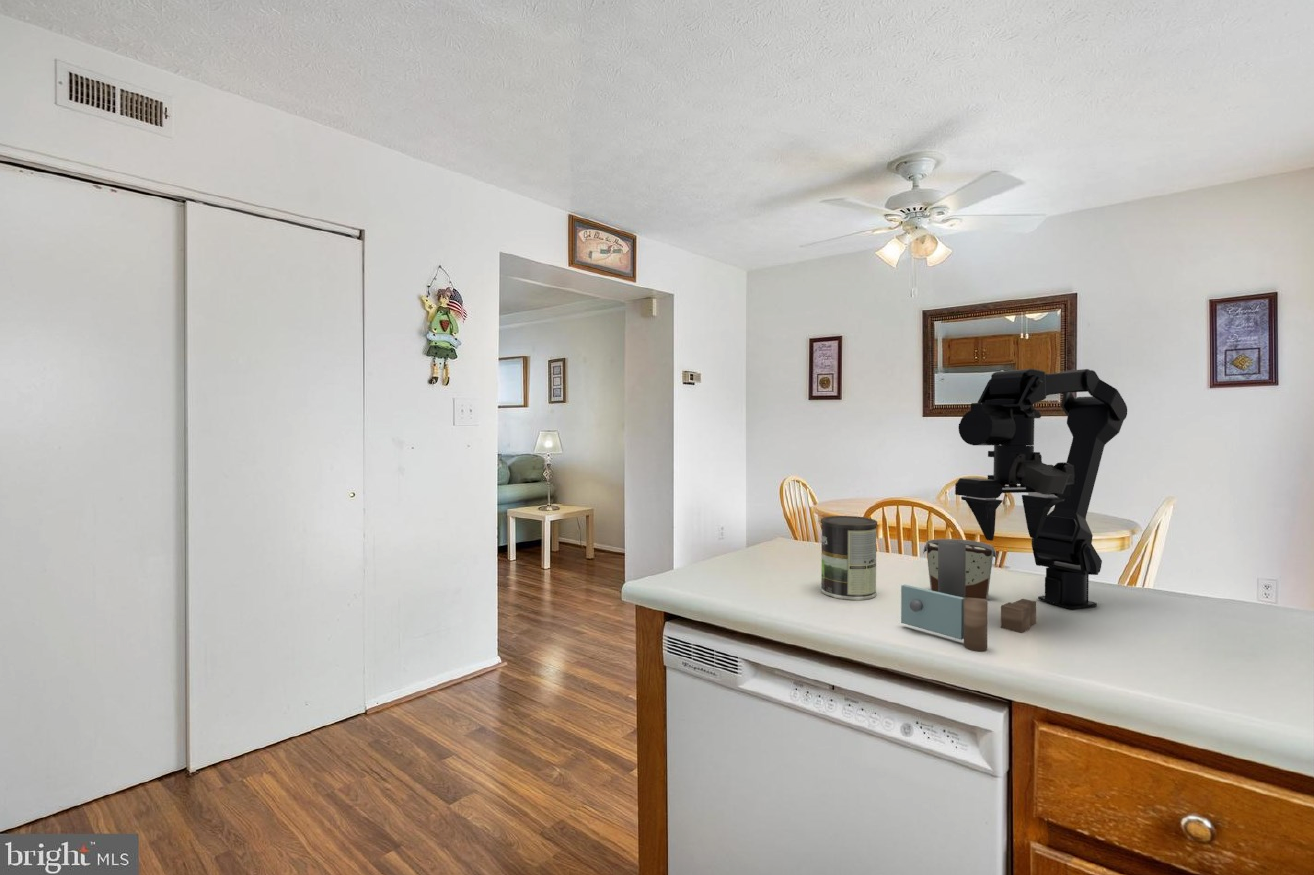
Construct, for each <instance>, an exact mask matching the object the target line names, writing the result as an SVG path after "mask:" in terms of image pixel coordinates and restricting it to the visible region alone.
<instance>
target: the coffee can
mask: <svg viewBox="0 0 1314 875" xmlns="http://www.w3.org/2000/svg"><path fill="white" fill-rule="evenodd" d="M820 523H821V576H820V579H821V587H820V592H821V593H822V594H823V595H825V596H827V597H832V598H834V599H839V600H846V601H865V600H866V601H867V600H871V599H874V598H875V597H876V596H877V526H878V521H877V520H876V519H873V518H869V517H864V516H854V515H830V516H824V517H821V519H820Z"/></svg>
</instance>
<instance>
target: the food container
mask: <svg viewBox="0 0 1314 875" xmlns="http://www.w3.org/2000/svg"><path fill="white" fill-rule="evenodd" d="M942 541H952V542H960V543H964V544H966V590H965V598H978V599H983V600H986V601H987V602H988V599H989V598H988V597H989V591H990V590H989V589H990V582H991V573H992V565H993V558H995V559H997V557H998V556H997V553H996V552H997V551H996V550H995V549H994V545H991V544H989V543H985V542H982V541H976V540H969V539H961V538H960V539H958V538H957V539H956V538H935V539H930V540H927V541H926V542H925V544H924V548H923V551H922V554H925V552H926V558H927V567H928V576H929V586H930V590H932V591H936V592H938V542H942Z"/></svg>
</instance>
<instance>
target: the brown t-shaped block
mask: <svg viewBox="0 0 1314 875" xmlns="http://www.w3.org/2000/svg"><path fill="white" fill-rule="evenodd" d="M988 604H989V603H988V600H987V601H986V600H983V599H978V598H965V599H964V639H963V647H964V648H965V649H967V650H970V651H974V652H986V651H987V650H988V615H989V614H988V608H989V607H988ZM1036 623H1037V601H1036V600H1030V599H1027V598H1022V599H1019V600H1017V601H1015V602H1007V603H1005V604H1002V605H1001V606H1000V628H1001V629H1005V630H1008V631H1013V632H1016V633H1020V634H1021V633H1022V634H1023V633H1024V632H1026V631H1028V630H1030V628H1031V626H1033V625H1035V624H1036Z"/></svg>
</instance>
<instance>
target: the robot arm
mask: <svg viewBox="0 0 1314 875" xmlns="http://www.w3.org/2000/svg"><path fill="white" fill-rule="evenodd" d="M990 376H991V378H990V379H989V380H988V381H987V383H986V385H985V387H984V389H983V391H982V394H981V395H980V397H979V399H978V401H977V402H974V403H973V402H972V403H971V404H970V410H969V411H967V412H966V413H965V414H963V416H962V418H961V419H960V421H959V424H958V433H959V436H960V438H961V439H962V440H963V442H965V443H966V444H968V445H970V446H993V450H988V451H987V457H988V458H993V474H987V478H979V477H965V478H964V477H962V478H961V477H960V478H959V479H958V480H956V482H955V486H954V487H955V488H954V495H956V496H961V497H960V499H961V500H962V501H965V502H966V504H967V505H968V508H969V509H970V510H971V512H972V514H973V516H974V518H975V520H976V521H977V524H978V525H979V528H980V529H981V532H982V534H983V536H984V538H985V540H987V541H991V542H992V541H994V538H995V530H996V515H997V514H996V513H997V509H998V508H999V506H1000V505H1001V504H1002V503H1003V502H1004V501H1003V499H999V498H1000V496H1001V495H1002V494H1017V493H1018V494H1019V493H1022V494H1021V500H1022V505H1023V510H1024V517H1025V521H1026V522H1025V523H1026V527H1027V531H1028V535H1029V538H1030V539H1031V549H1032V553H1033V556H1034V563H1035V565H1036V566H1038V567H1045V577H1044V595H1039V596H1037V600H1039V601H1043V602H1046V603H1049V604H1052V605H1056V606H1059V607H1062V608H1065V609H1068V610H1074V609H1075V610H1076V609H1081V608H1082V609H1083V608H1091V607H1097V606H1098V603H1097V602H1094V601H1091V600H1089V579H1090V578H1089V576H1091V575H1092V576H1097V575H1099V573H1100V572H1101V570H1102V564H1103V560H1102V558H1101V557H1100V555H1099V553H1098V551H1097V550H1096V548H1095V547H1094V546H1093V543H1092V542H1093V536H1094V535H1093V533H1092V531H1091V528H1090V525H1089V524H1088V522H1087V515H1088V511H1089V507H1090V505H1091V504H1090V503H1091V499H1092V495H1093V491H1094V488H1095V483H1096V480H1097V476H1098V472H1099V468H1100V465H1101V461H1102V456H1103V452H1104V449H1105V446H1106V445H1107V444H1108V442H1110V441H1111V440H1112V439H1113V438H1116V436H1117V435H1118V434H1119V433H1120V432H1121V429H1122V426H1123V423H1124V420H1125V419H1126V418H1127V416H1128V406H1127V404H1126V401H1125V399H1123V396H1122V395H1121V393H1120V392H1119V390H1118V389H1117V388H1115V387H1113V386H1112V385H1110V384H1108V383H1107V382H1105V381H1104V380H1102V379H1101V378H1100V377H1099V376H1098V374H1097V373H1096V371H1095V370H1093V369H1089V368H1085V369H1071V370H1070V369H1069V370H1064V371H1063V372H1053V373H1046V372H1045V371H1044V370H1042V369H1041V370H1040V369H1035V368H1026V369H1023V368H1022V369H1014V370H1002V371H995V372H993V373H991V375H990ZM1073 393H1088V394H1089V395H1090V396H1077V397H1076V398H1075V397H1074V396H1073ZM1060 394H1062V399H1061V403H1060V407H1061V408H1062V410H1063V412H1064V413H1065V416H1066V425H1067V427H1068V429H1069V432H1070V434H1071V435H1072V439H1071V444H1070V448H1069V452H1068V454H1067V459H1066V462H1063V461H1062V462H1057V463H1055V464H1054V465H1053V464H1046V463H1044V462H1043V461H1042V458H1043V457H1042V454H1041V452H1039V451H1035V419H1041V418H1042V414H1041V413H1040V411H1039V410H1037V409H1035V407H1034V405H1035V404H1037V403H1039V402H1043V401H1044V400H1045V399H1046V398H1047V396H1049V395H1060ZM1023 493H1026V494H1023ZM1052 508H1053V509H1052ZM1051 509H1052V511H1051Z"/></svg>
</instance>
